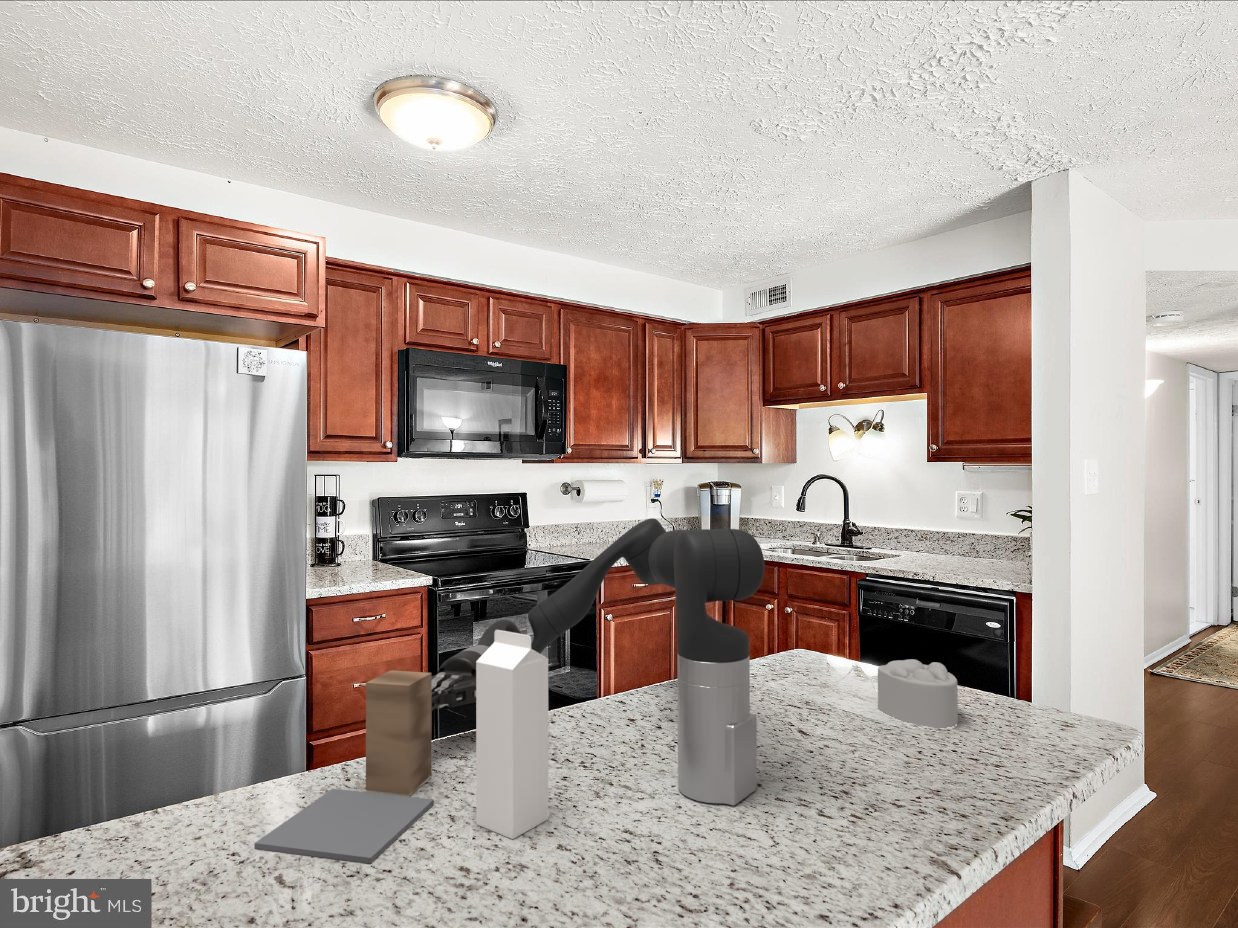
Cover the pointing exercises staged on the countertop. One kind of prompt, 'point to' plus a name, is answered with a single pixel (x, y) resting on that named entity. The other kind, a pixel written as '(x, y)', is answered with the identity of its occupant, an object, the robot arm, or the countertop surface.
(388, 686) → the light wood block
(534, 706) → the milk
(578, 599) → the robot arm
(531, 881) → the countertop surface
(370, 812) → the mat
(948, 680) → the lumpy-topped squat cylinder
